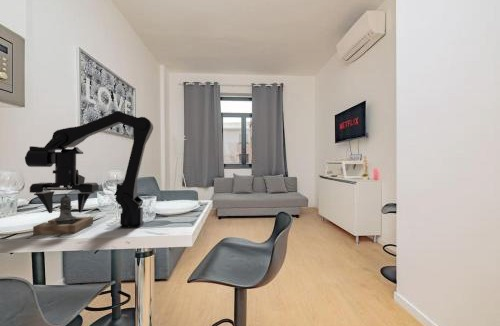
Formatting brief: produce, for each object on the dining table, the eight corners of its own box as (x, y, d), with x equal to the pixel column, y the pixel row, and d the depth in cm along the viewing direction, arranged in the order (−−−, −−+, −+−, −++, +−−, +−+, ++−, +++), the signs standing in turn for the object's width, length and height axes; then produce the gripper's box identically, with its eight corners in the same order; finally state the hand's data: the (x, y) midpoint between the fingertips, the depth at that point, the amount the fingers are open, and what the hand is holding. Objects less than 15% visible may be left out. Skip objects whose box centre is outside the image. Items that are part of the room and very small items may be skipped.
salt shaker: (50, 230, 82) (50, 194, 82) (68, 225, 88) (68, 192, 87) (62, 232, 80) (62, 195, 80) (80, 227, 86) (80, 193, 86)
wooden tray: (92, 223, 91) (92, 216, 91) (75, 233, 79) (75, 225, 79) (56, 224, 89) (57, 217, 89) (33, 234, 77) (33, 226, 77)
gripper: (105, 166, 93) (105, 207, 93) (50, 166, 90) (50, 208, 90) (91, 167, 82) (91, 214, 82) (28, 167, 79) (28, 215, 79)
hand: (65, 212), depth 84 cm, fingers open, 9 cm apart
